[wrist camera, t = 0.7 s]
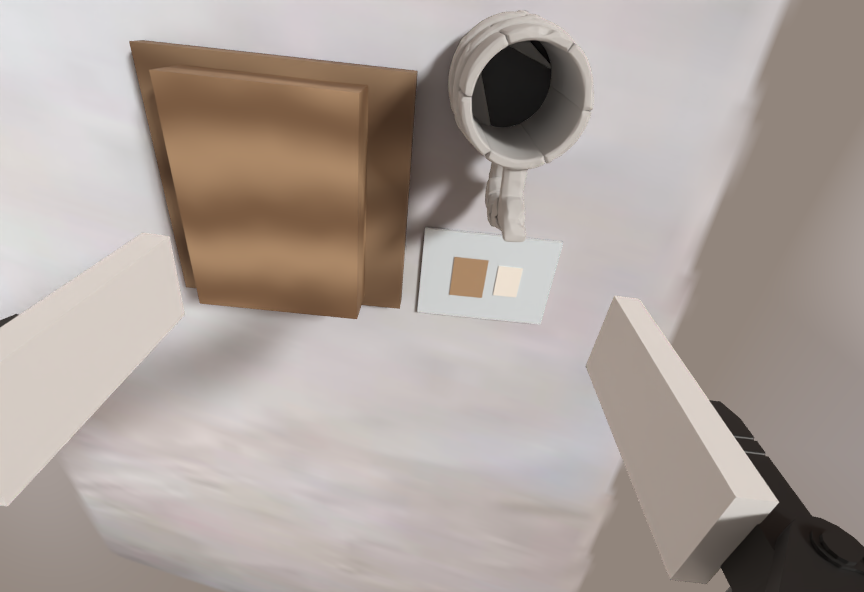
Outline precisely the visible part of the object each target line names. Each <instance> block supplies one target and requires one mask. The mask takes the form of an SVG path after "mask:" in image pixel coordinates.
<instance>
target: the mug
mask: <svg viewBox="0 0 864 592" xmlns="http://www.w3.org/2000/svg"><path fill="white" fill-rule="evenodd" d="M529 40H538V41H539V42H540V43H541V44H542V45H543V46H544V48H545V50H546V52H547V54H548V56H549V59H550V64H551V65H550V64H549V63H548V62H547V61H546V59H545V58H544V57H543V56H542V55H541V54H540V53H539V51H538V50H537V49H536V48H535V47H534V46H533V45H532V43H531V42H530V41H529ZM507 46H510V47H512V48H514V49H516V50H517V51H519V52H521V53H523V54H525V55H526V56H528V57H530V58H532V59H534V60H535V61H537V62H539V63H541V64H543V65H544V66H546V67H548V68H550V69H551V81H550V85H551V86H550V87H549V90H548V94H547V96H546V99H545V101H544V102H543V104H542V106H541V107H540V108H539V109H538V111H537V112H536V113H535V114H534V115H532V116H531V117H530V118H529V119H527V120H525V121H523V122H521V124H517V125H514V126H510V127H495V126H491V124H490V119H489V113H488V108H487V102H486V97H485V91H484V86H483V80H482V74H481V71H482V70H483V68H484V67H485V66H486V64H487V63H488V62H489V61H490V60H491V59H492V58H493V57H494V56H495V55H496V54H497V53H498V52H500V51H501V50H502V49H504V48H505V47H507ZM448 93H449V98H450V101H451V102H450V106H451V110H452V112H453V113H455V121H456V123H457V126H458V128H459V129H460V130H461V132H462V133H463V134H464V136H465V137H466V139H467V140H468V141H469V142H470V143H471V144H472V145H473V146H474V147H475V148H476V150H477V151H478V152H479V153H480V154H481V155H482V156H484V155H485V156H486V159H488V160H489V161H491V162H492V164H491V169H490V173H489V180H488V182H487V186H486V194H485V204H486V207H487V217H488V221H489V223H490V225H491V226H495V227H496V228H498V229H500V230H501V231H502V237H503V240H504V241H507V242H523V241H525V240H526V229H525V227H524V219H525V206H524V199H523V192H524V187H525V181H526V177H527V171H528V169H532V168H537V167H539V166H542V165H544V164H545V162H546V163H550V162H551V161H552V160H553V159H556V158H558V157H560V156H561V155H563V154H564V153H565V152H566V151H567V150H568V149H569V148H571V147H572V146H573V145H574V144H575V143H576V141H577V140H578V139H579V137H580V136H581V134H582V133H583V131H584V130H585V128H586V126H587V124H588V121H589V119H590V116H591V112H590V111H589V110H592V109H593V103H594V89H593V76H592V71H591V67H590V64H589V62H588V59H587V57H586V55H585V54H584V52H583V51H582V49H581V48H580V47H579V46H578V45H577V44H576V43H575V41H574V40H573V39H572V37H571V36H570V35H569V34H568V33H567V32H566V31H565V30H563V29H562V28H561V27H559V26H558V25H556V24H554V23H552V22H550V21H548V20H546V19H543V18H541V17H540V16H538V15H535V14H529V12H527V11H522V10H518V11H517V12H514V11H512V12H502V13H499V14H496V15H493V16H491V17H488V18H486V19H485V20H483V21H481V22H480V23H478V24H477V25H476V26H475V27H473V28H472V29H471V30H470V31H469V32H468V33H467V35H466V36H464V37H463V38H462V39H461V41H460V43H459V45H458V48H457V49H456V51H455V54H454V56H453V59H452V62H451V66H450V71H449V77H448ZM544 160H545V161H544Z"/></svg>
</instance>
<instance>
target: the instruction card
mask: <svg viewBox="0 0 864 592" xmlns="http://www.w3.org/2000/svg"><path fill="white" fill-rule="evenodd" d="M562 246H563V242H562V241H554V240H544V239H535V238H526V240H525V241H523V242H507V241H504V240H503V237H502V235H497V234H487V233H477V232H468V231H458V230H449V229H439V228H430V227H425V236H424V247H423V257H422V268H421V278H420V289H419V299H418V310H417V312H421V313H430V314H440V315H450V316H460V317H470V318H480V319H490V320H500V321H510V322H520V323H530V324H541V321H542V317H543V314H544V310H545V307H546V303H547V299H548V296H549V292H550V289H551V285H552V281H553V278H554V274H555V271H556V267H557V264H558V260H559V256H560V253H561V249H562Z"/></svg>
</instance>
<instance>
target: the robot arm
mask: <svg viewBox="0 0 864 592" xmlns="http://www.w3.org/2000/svg"><path fill="white" fill-rule="evenodd" d="M184 315H185V313H184V308H183V302H182V297H181V292H180V287H179V282H178V277H177V271H176V266H175V261H174V256H173V251H172V246H171V241H170V236H164V235H157V234H149V233H141V234H140V235H138V236H137V237H135V238H134V239H132V240H131V241H129V242H128V243H126V244H125V245H123V246H122V247H120V248H119V249H117V250H116V251H114V252H113V253H111V254H110V255H108V256H107V257H105V258H104V259H102V260H101V261H99V262H98V263H96V264H95V265H93V266H92V267H90V268H89V269H87V270H86V271H84V272H83V273H81V274H80V275H78V276H77V277H75V278H74V279H72V280H71V281H69V282H68V283H66V284H65V285H63V286H62V287H60V288H59V289H57V290H56V291H54V292H53V293H51V294H50V295H48V296H47V297H45V298H44V299H42V300H41V301H39V302H38V303H36V304H35V305H33V306H32V307H30V308H29V309H27V310H26V311H24V312H23V313H21V314H20V315H18V314H15V315H13V316H10V317H8V318H5V319H3V320H0V506H9V504H10V503H11V502H12V501H13V500H14V499H15V498H16V497H17V496H18V495H19V494H20V493H21V492H22V490H23V489H24V488H25V487H26V486H27V485H28V484H29V483H30V482H31V481H32V479H33V478H34V477H35V476H36V475H37V474H38V473H39V472H40V471H41V470H42V469H43V468H44V467H45V466H46V465H47V463H48V462H49V461H50V460H51V459H52V458H53V457H54V456H55V455H56V454H57V453H58V452H59V450H60V449H61V448H62V447H63V446H64V445H65V444H66V443H67V442H68V441H69V440H70V439H71V437H72V436H73V435H74V434H75V433H76V432H77V431H78V430H79V429H80V428H81V427H82V426H83V425H84V423H85V422H86V421H87V420H88V419H89V418H90V417H91V416H92V415H93V414H94V413H95V412H96V410H97V409H98V408H99V407H100V406H101V405H102V404H103V403H104V402H105V401H106V400H107V399H108V398H109V396H110V395H111V394H112V393H113V392H114V391H115V390H116V389H117V388H118V387H119V386H120V385H121V383H122V382H123V381H124V380H125V379H126V378H127V377H128V376H129V375H130V374H131V373H132V372H133V371H134V369H135V368H136V367H137V366H138V365H139V364H140V363H141V362H142V361H143V360H144V359H145V358H146V356H147V355H148V354H149V353H150V352H151V351H152V350H153V349H154V348H155V347H156V346H157V345H158V343H159V342H160V341H161V340H162V339H163V338H164V337H165V336H166V335H167V334H168V333H169V332H170V331H171V329H172V328H173V327H174V326H175V325H176V324H177V323H178V322H179V321H180V320H181V319H182V318H183V316H184ZM586 368H587V371H588V373H589V376H590V378H591V381H592V383H593V386H594V388H595V391H596V394H597V396H598V399H599V401H600V404H601V406H602V409H603V411H604V414H605V416H606V419H607V421H608V424H609V426H610V429H611V432H612V434H613V437H614V439H615V442H616V444H617V447H618V449H619V452H620V454H621V457H622V459H623V462H624V464H625V467H626V470H627V472H628V475H629V477H630V480H631V482H632V484H633V487H634V490H635V492H636V495H637V497H638V500H639V502H640V505H641V508H642V510H643V513H644V515H645V518H646V520H647V523H648V525H649V528H650V530H651V533H652V535H653V538H654V541H655V543H656V546H657V548H658V550H659V553H660V556H661V558H662V561H663V563H664V566H665V568H666V571H667V573H668V576H669V578H670V580H675V581H685V582H693V583H702V584H707V583H708V582H709V581H710V580H711V578H712V577H713V576H714V575H715V574H716V573H717V572H718V571H719V569H720V568H721V569H722V571H723V573H724V575H725V577H726V579H727V581H728V583H729V585H730V587H729V588H728V590H727V591H726V592H864V547H863V546H862V545H861V544H860V543H859V542H858V541H857V540H856V539H855V538H854V537H853V536H851V535H850V534H848V533H847V532H845V531H844V530H842V529H841V528H840V527H838V526H836V525H834V524H832V523H830V522H828V521H826V520H824V519H821V518H818V517H813V516H812V515H811V514H810V513H809V511H808V510H807V509H806V507H805V506H804V504H803V503H802V502H801V501H800V499H799V498H798V496H797V495H796V494H795V492H794V491H793V490H792V488H791V487H790V486H789V484H788V483H787V481H786V480H785V479H784V477H783V476H782V475H781V473H780V472H779V471H778V469H777V468H776V466H775V465H774V464H773V462H772V461H771V460H770V458H769V457H767V456H765V452H764V450H763V449H762V448H761V446H760V445H759V443H758V442H757V441H754V437H753V435H752V434H751V432H750V431H749V430H748V428H747V427H746V426H745V424H744V423H743V422H742V420H741V419H740V418H739V417H738V416H737V415H735V414H734V413H733V412H732V411H731V410H730V409H728V408H727V407H726V406H725V405H724V404H723V403H721V402H719V401H711V400H708V398H707V397H706V395H705V394H704V393H703V391H702V390H701V388H700V387H699V385H698V384H697V382H696V381H695V379H694V378H693V376H692V375H691V373H690V372H689V371H688V369H687V368H686V366H685V365H684V363H683V362H682V360H681V359H680V358H679V356H678V355H677V353H676V352H675V350H674V349H673V348H672V346H671V344H670V343H669V341H668V340H667V339H666V337H665V336H664V334H663V333H662V331H661V330H660V328H659V327H658V326H657V324H656V323H655V321H654V320H653V318H652V317H651V315H650V314H649V312H648V311H647V310H646V308H645V307H644V305H643V304H642V302H641V301H640V299H635V298H628V297H620V296H614V298H613V300H612V303H611V305H610V307H609V310H608V312H607V315H606V317H605V320H604V322H603V325H602V327H601V330H600V332H599V335H598V337H597V339H596V342H595V344H594V347H593V349H592V352H591V354H590V357H589V359H588V362H587V364H586Z"/></svg>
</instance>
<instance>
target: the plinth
mask: <svg viewBox="0 0 864 592" xmlns="http://www.w3.org/2000/svg"><path fill="white" fill-rule="evenodd" d="M129 43H130V47H131V51H132V55H133V60H134V64H135V68H136V73H137V77H138V81H139V86H140V90H141V94H142V99H143V103H144V107H145V112H146V116H147V120H148V125H149V129H150V133H151V137H152V142H153V146H154V150H155V155H156V159H157V163H158V168H159V172H160V176H161V181H162V185H163V189H164V194H165V198H166V202H167V207H168V211H169V215H170V220H171V224H172V228H173V232H174V237H175V241H176V245H177V250H178V254H179V258H180V263H181V267H182V271H183V276H184V280H185V284H186V287H190V288H197V292H198V297H199V302H200V303H201V304H211V305H221V306H231V307H241V308H251V309H261V310H271V311H281V312H291V313H301V314H311V315H321V316H331V317H341V318H351V319H357V317H358V314H359V311H360V308H361V305H369V306H379V307H389V308H399V309H400V304H401V297H402V283H403V269H404V255H405V240H406V226H407V212H408V198H409V184H410V170H411V156H412V142H413V128H414V114H415V99H416V85H417V71H414V70H405V69H396V68H387V67H378V66H369V65H360V64H351V63H342V62H333V61H324V60H315V59H306V58H297V57H289V56H280V55H271V54H262V53H253V52H244V51H235V50H226V49H217V48H208V47H199V46H190V45H181V44H172V43H163V42H154V41H145V40H140V41H129Z"/></svg>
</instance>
